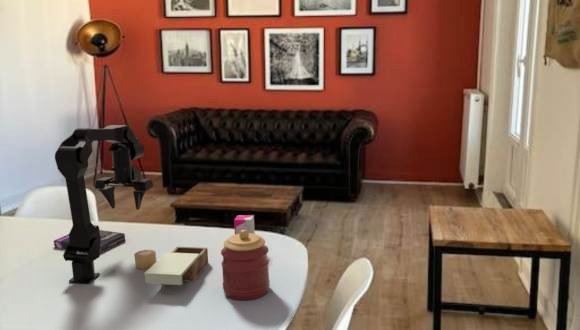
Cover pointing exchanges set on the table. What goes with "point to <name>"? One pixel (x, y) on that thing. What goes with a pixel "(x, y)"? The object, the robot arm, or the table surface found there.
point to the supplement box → (244, 223)
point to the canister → (245, 266)
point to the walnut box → (197, 265)
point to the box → (106, 239)
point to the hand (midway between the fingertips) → (125, 208)
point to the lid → (170, 268)
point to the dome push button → (145, 259)
